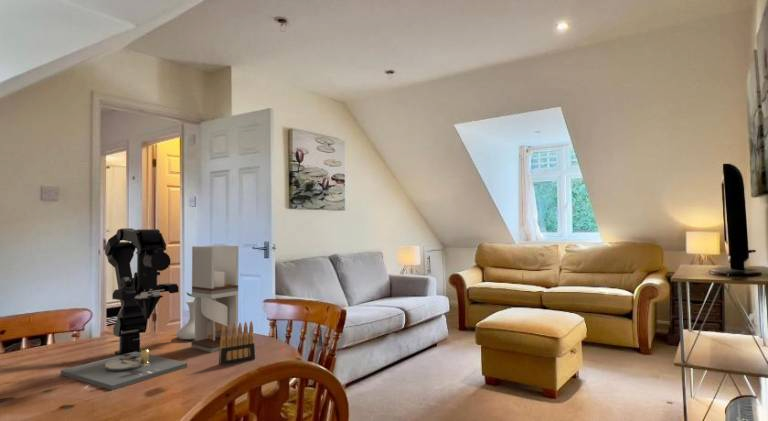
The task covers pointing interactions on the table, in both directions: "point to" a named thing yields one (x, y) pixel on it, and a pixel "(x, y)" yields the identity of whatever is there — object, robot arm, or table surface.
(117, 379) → the stand base
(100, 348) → the table surface
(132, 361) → the disc crank with handle
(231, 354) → the ammunition clip
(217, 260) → the display case
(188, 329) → the flower in vase
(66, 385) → the table surface
